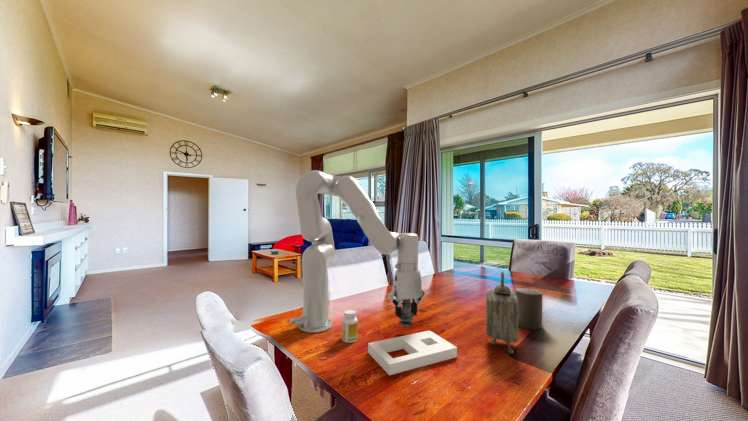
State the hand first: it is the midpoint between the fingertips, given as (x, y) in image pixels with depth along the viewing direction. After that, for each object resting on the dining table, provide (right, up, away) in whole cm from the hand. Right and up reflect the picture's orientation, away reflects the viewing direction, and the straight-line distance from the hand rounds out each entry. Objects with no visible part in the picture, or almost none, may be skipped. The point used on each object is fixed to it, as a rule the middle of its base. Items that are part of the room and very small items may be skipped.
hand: (406, 315), depth 107 cm
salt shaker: (0, -3, 0) cm, 3 cm away
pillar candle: (+50, -8, +10) cm, 52 cm away
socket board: (0, -7, -16) cm, 17 cm away
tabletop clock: (+31, -7, -8) cm, 33 cm away
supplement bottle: (-20, -7, -6) cm, 22 cm away
